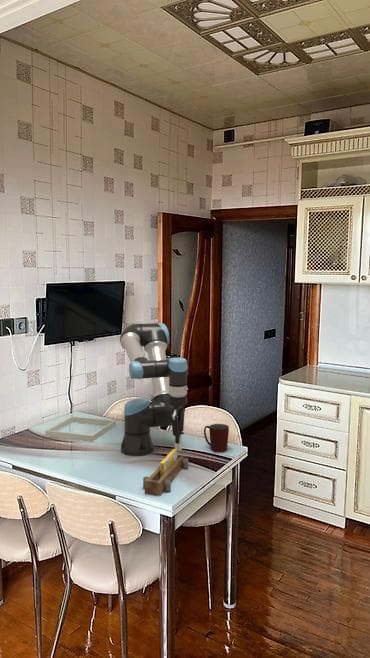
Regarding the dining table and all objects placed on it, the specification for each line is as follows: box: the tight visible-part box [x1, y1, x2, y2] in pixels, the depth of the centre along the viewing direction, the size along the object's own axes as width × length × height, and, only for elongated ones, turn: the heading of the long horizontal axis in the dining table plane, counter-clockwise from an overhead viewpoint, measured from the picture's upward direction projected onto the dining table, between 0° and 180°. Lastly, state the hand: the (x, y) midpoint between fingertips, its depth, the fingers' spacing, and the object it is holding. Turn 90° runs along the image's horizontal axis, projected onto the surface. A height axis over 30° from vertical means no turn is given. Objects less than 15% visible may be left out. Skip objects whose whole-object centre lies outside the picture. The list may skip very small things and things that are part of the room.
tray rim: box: [44, 415, 117, 443], centre depth 255 cm, size 26×26×3 cm
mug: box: [203, 423, 230, 453], centre depth 228 cm, size 12×9×11 cm
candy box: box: [159, 448, 179, 478], centre depth 199 cm, size 16×2×8 cm, turn 162°
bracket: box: [142, 455, 189, 497], centre depth 195 cm, size 11×28×5 cm, turn 163°
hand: (178, 449), depth 210 cm, fingers closed
